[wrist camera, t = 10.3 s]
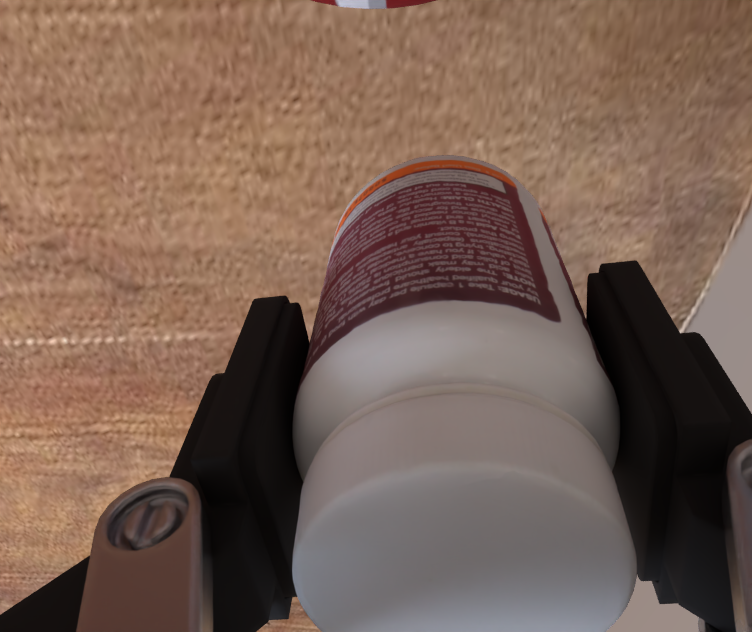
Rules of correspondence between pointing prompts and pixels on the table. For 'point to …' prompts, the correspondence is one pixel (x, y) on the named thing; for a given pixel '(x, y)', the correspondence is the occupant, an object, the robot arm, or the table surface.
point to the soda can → (373, 3)
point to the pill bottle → (455, 421)
